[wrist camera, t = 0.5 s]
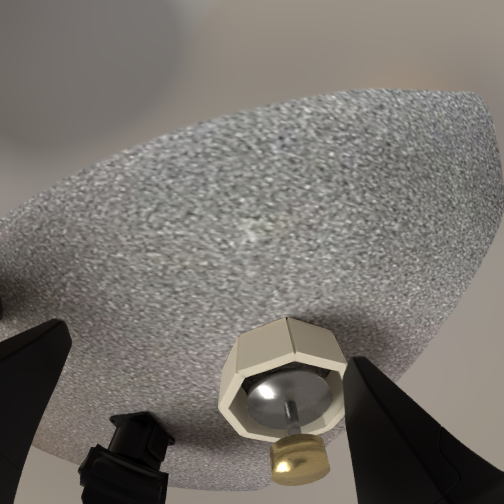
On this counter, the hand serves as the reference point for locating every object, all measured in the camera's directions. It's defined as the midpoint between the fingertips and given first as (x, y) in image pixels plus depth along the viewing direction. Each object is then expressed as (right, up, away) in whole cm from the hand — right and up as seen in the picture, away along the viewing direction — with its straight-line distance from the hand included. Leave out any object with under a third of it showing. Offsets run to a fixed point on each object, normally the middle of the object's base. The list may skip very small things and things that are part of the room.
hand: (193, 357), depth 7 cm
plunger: (+5, -9, +13) cm, 17 cm away
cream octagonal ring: (+5, -9, +17) cm, 20 cm away
